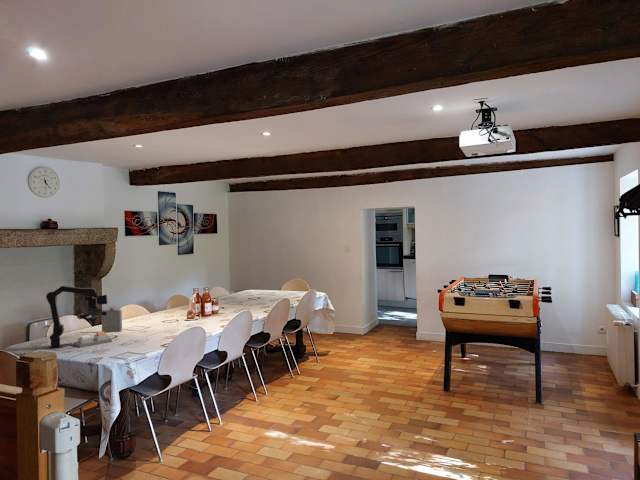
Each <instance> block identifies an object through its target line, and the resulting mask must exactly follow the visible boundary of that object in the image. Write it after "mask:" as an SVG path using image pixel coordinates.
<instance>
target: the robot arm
mask: <svg viewBox="0 0 640 480" xmlns="http://www.w3.org/2000/svg"><path fill="white" fill-rule="evenodd" d="M63 292H66V293H73V294H80V295H84V296H85V298H84V299H83V300H84V301H86V300H87V303H86V304H87V306H86V308H87V312H86V313H80V314H77V315H76V317H77V319H79V320H84V319H87V320H88V321H89V323H90V325H91V327H94V326H95V323H96V321H97V319H99V316H102V315H107V312H106V311H102V310H103V309H102V308H98V306H97V305H99V306H100V305H101V306H102V305H107V304H108V296H107V294H103V295H99V293H97V290H96V289H95V288H94V287H75V286H67V285H61V286H60V287H59V288H56V289H55V290H51V291H50V292H47V293H46V296H45V298H46V301H47V303H48V304H49V307H50V313H51V317H52V323H53V327H52V333H51V335H50V336H49V340H50V345H49V346H48V347H49V348H51V349H55V348H62V347H63V346H62V344H61V336H62V335H63V333H64V331H65V327H64V325H65V324H63V323H62V324H61V321H60V315H59V311H58V305H57V301H58V295H60V294H61V293H63Z"/></svg>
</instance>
